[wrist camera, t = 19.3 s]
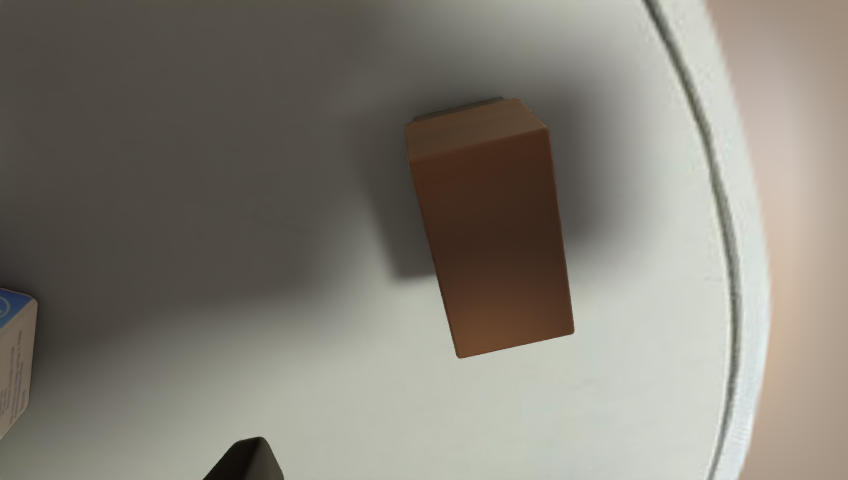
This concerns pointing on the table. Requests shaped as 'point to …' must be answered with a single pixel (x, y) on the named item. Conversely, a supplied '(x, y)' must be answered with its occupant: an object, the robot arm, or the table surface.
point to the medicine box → (15, 354)
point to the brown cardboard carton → (492, 223)
